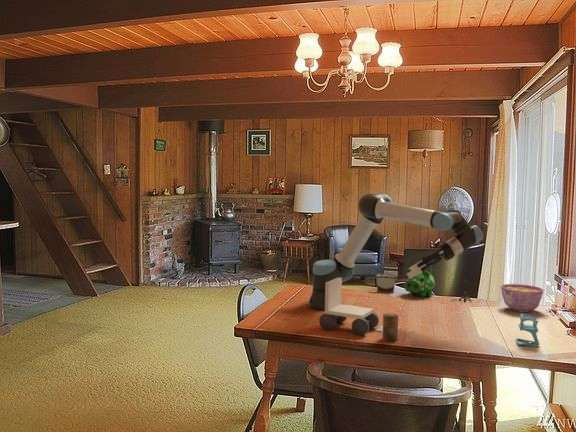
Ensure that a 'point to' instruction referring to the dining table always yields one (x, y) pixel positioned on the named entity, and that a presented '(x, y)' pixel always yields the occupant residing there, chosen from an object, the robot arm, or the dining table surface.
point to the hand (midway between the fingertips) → (409, 273)
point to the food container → (385, 283)
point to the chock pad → (382, 329)
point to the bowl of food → (521, 296)
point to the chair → (528, 329)
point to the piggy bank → (420, 284)
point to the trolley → (345, 311)
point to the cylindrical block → (390, 327)
